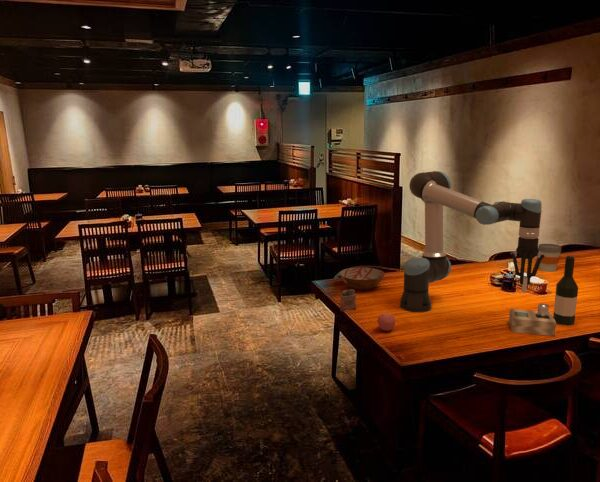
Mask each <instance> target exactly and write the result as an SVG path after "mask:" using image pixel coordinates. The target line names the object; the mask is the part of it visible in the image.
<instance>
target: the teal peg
mask: <svg viewBox="0 0 600 482" xmlns="http://www.w3.org/2000/svg"><path fill="white" fill-rule="evenodd" d="M516 316H521V317H527V314H526V313H523V312H518V313H517V314H516Z"/></svg>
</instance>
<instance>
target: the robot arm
mask: <svg viewBox="0 0 600 482" xmlns="http://www.w3.org/2000/svg"><path fill="white" fill-rule="evenodd" d="M451 187H452V182H451V178H450V176H449V175H447V173H446V172H444V171H437V170H433V171H427V172H426V171H423V172H418V173H416V174H414V175H413V176H412V177H411V178H410V181H409V187H408V188H409V191H410V193H411V194H412V195H413V196H414V197H416V198H418V199H420V200H421V201H422V202H423V204H424V245H425V246H424V251H423V253H421V257H413V258H410V259H408V260H406V261H405V263H404V267H403V277H404V278H403V292H402V295H401V297H400V299H399V307H400V309H403V310H405V311H408V312H413V313H423V312H428V311H430V310H432V307H433V306H432V299H431V297H430V293H429V286H430V284H432V283H434V282H439V281H442V280H443V279H445V278H447V277H448V276H449V275H450V273H451V272H452V271H451V269H452V263H451V261H450V260H449V258H448V257H447V253H446V252H445V251H444V207H446V208H449V209H450V210H451V209H452V210H454V211H456V212H460V213H461V214H463V215H467V216H468V217H471V218H473V219H475V220H476V221H477V222H478V224H480V225H483V226H484V225H485V226H487V225H489V226H490V225H493V224H496V223H501V222H506V221H513V222H519V229H518V236H519V237H518V240H517V241H518V242H517V247H516V250H514V251H510V252H509V253H510V255H511V257H512V262H513V267H514V272H515V275H516V276H517V277H519V284H520V285H521V293H525V294H526V293H527V288H528V286H529V285H531V278H532V277H536V275H537V273H538V271H539V265H540V262H541V260H542V259H543V258H544V254H542V253H540V252H539V250H538V246H539V237H540V229H541V228H540V227H541V220H542V217H541V216H542V213H543V211H542V201H541V200H540V199H534V198H525V199H522V200H521V202H508V201H494V203H492V204H491V203H488V202H485V201H483V200H480V199H478V198H474V197H472V196H470V195H466V194H463V193H461V192H458V191H456V190H453V189H451ZM517 254H518V255H517ZM517 256H519V257H520V271H519V266H518V260H517V259H518V258H517ZM535 257H537V258H536V260H535V263H534V266H533V259H534V258H535ZM526 261H527V268H526ZM532 266H533V268H532ZM525 268H526V275H525Z"/></svg>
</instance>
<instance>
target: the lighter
mask: <svg viewBox="0 0 600 482" xmlns="http://www.w3.org/2000/svg"><path fill="white" fill-rule="evenodd" d="M355 290H356V289H354V288H352V289H349V290H348V289H345V290H342V294H340V295H339V301H340V303H339V304H340V307H339V312H346V311H345V310H352V311H354V310H353V309H356V310H357V306H356V303H357V301H356V300H357V298H356V297H357V294H356V292H355Z"/></svg>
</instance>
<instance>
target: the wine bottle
mask: <svg viewBox="0 0 600 482" xmlns="http://www.w3.org/2000/svg"><path fill="white" fill-rule="evenodd" d="M574 268H575V256H574V255H570V254H568V255H566V257H565V262H564V270H563V271H564V272H563V276H562V277H561V278H560V280H558V282H557V283H556V286H555V287H556V288H555V295H554V306H553V315H552V316H553V318H554V320H555V321H556V325H557V324H558V325H560V324H561V326H569V325H570V326H573V325H575V320H576V311H577V304H578V303H577V302H578V301H577V300H578V295H579V286H578V284H577V282H576V280H575V279H574V277H573V276H574Z"/></svg>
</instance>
